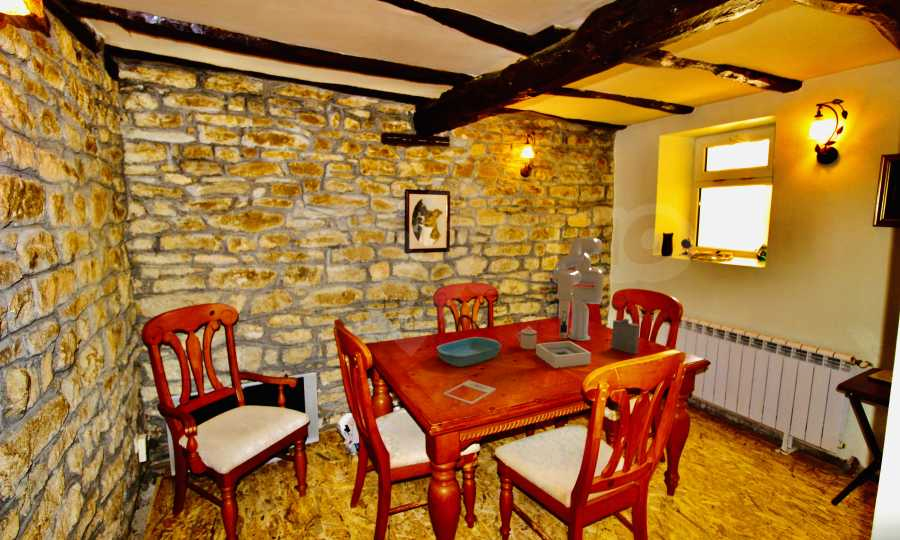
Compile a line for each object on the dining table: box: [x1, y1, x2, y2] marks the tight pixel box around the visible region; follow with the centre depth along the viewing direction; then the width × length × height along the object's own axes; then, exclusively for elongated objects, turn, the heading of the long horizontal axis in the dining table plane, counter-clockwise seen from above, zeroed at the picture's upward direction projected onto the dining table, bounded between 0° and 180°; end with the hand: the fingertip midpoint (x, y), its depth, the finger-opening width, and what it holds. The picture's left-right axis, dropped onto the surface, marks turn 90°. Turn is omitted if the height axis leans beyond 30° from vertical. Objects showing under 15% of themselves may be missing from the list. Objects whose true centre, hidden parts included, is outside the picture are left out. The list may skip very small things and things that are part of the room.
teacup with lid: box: [516, 326, 538, 350], centre depth 244 cm, size 12×9×12 cm
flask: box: [611, 318, 640, 355], centre depth 237 cm, size 4×14×18 cm, turn 43°
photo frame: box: [443, 379, 497, 405], centre depth 185 cm, size 15×1×18 cm
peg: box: [558, 318, 569, 339], centre depth 222 cm, size 4×4×10 cm
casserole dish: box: [436, 336, 502, 368], centre depth 226 cm, size 37×22×7 cm, turn 130°
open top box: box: [535, 340, 592, 369], centre depth 225 cm, size 20×20×6 cm
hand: (563, 330), depth 223 cm, fingers closed on peg, 4 cm apart
